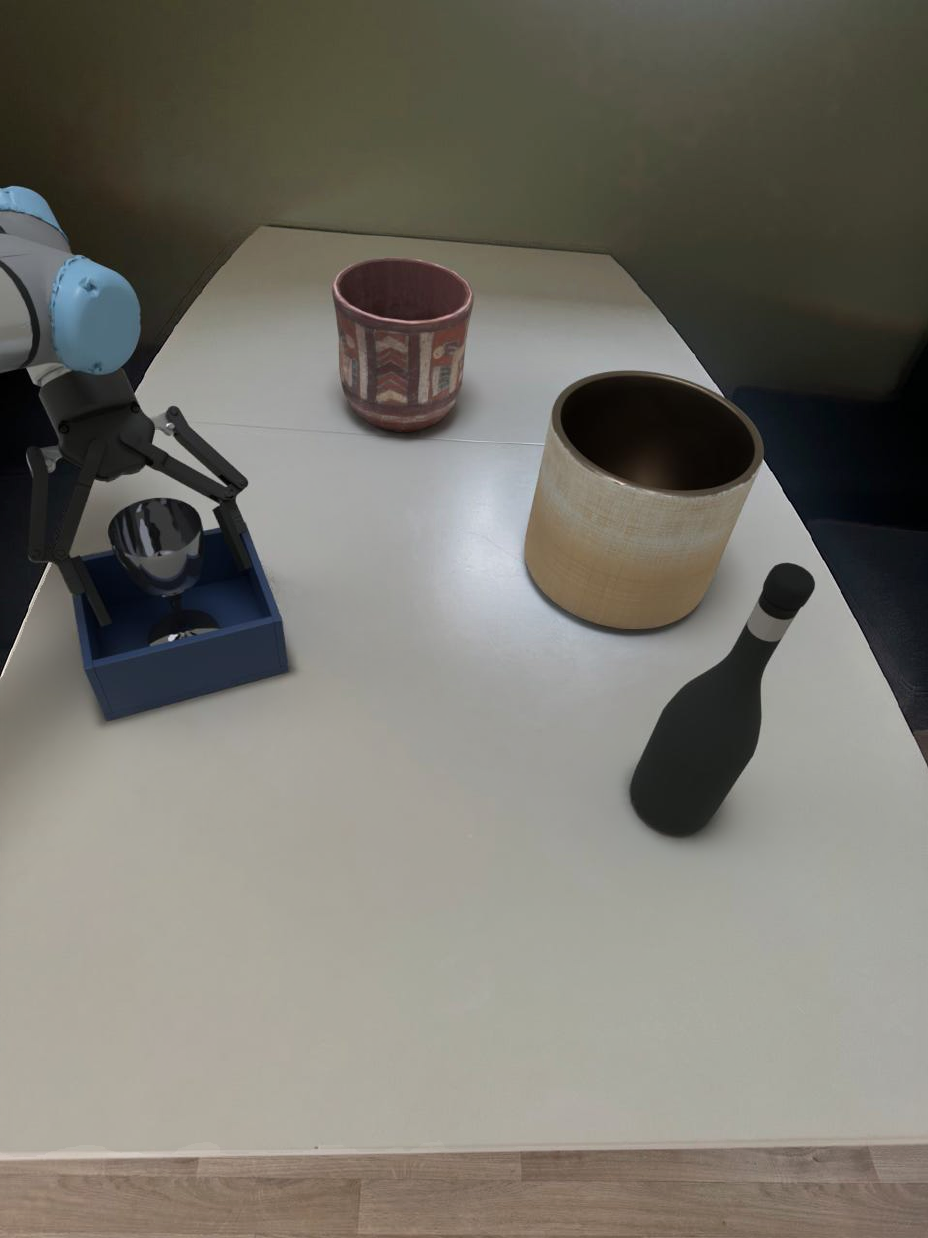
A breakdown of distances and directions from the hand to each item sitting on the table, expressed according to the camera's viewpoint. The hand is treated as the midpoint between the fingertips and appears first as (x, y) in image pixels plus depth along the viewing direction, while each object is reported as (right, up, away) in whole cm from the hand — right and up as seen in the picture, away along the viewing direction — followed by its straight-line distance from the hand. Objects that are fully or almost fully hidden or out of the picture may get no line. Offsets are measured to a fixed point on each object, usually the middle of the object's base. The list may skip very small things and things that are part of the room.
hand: (179, 596), depth 75 cm
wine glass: (-2, -4, +7) cm, 9 cm away
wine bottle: (+46, -19, +1) cm, 50 cm away
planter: (+45, +4, +21) cm, 49 cm away
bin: (-2, -4, +8) cm, 9 cm away
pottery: (+18, +28, +39) cm, 51 cm away
